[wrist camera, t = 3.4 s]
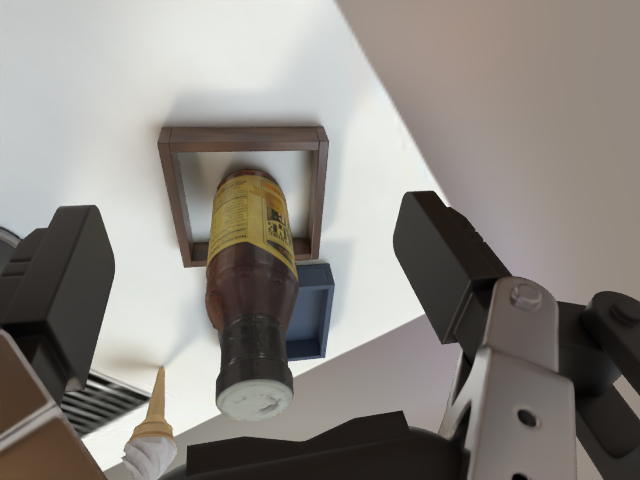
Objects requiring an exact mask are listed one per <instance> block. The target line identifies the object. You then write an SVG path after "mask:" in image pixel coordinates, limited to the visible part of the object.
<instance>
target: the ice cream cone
mask: <svg viewBox="0 0 640 480" xmlns="http://www.w3.org/2000/svg"><path fill="white" fill-rule="evenodd" d="M164 407H165V370H164V368H163V367H162V368H160V369H159V371H158V374H157V378H156V382H155V385H154V389H153V393H152V396H151V400H150V403H149V407H148V411H147V415H146V419H145V420H144V421H143V422H142V423H141V424H140V425H138V426H137V427H135V429H134V433H133V434H132V437H131V438H130V440H129V441H128V442H127V443H126V445H125V448H124V450H123V451H124V452H125V453H126V455H125V456H123V457H121V458H122V460H123V462H124V463H125V465H126V467H127V468H128V469H129V470H130V475H131V477H132V479H133V480H158V479H159V477H160V476H161V475H162V473H163V472H164V471H165V470H166V468H167V467H168V465H170V463H171V462H172V461H173V459H174V458H175V455H176V453H177V449H176V441H175V440H174V437H173V434H172V427H171V425H169V424H168V423H167V422H166V420H165V419H164Z"/></svg>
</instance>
